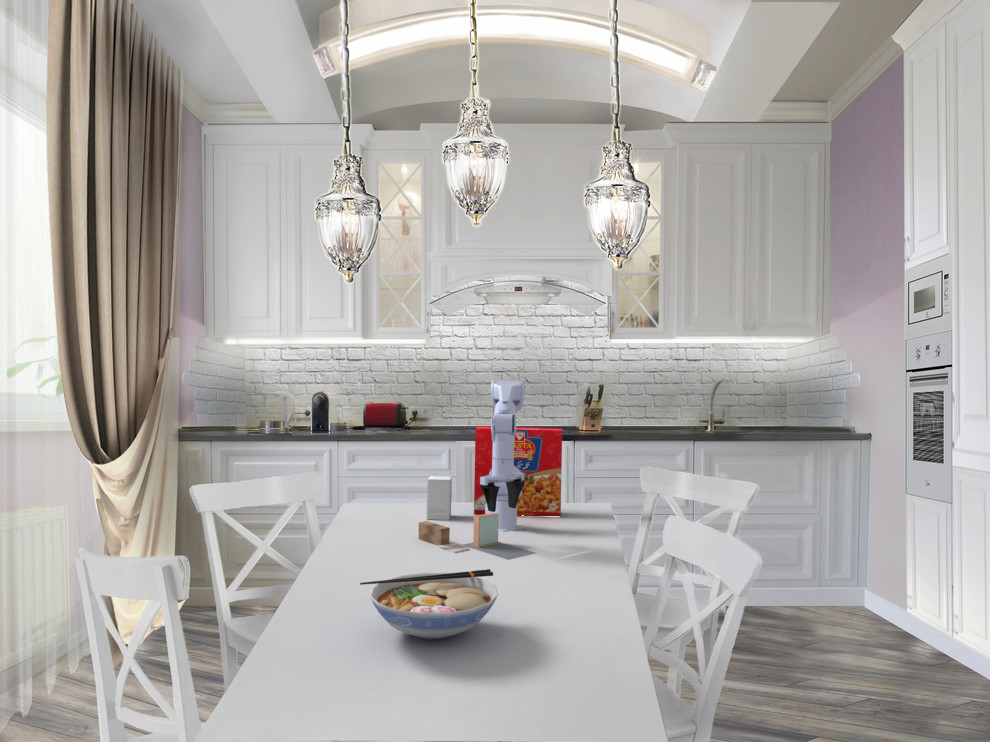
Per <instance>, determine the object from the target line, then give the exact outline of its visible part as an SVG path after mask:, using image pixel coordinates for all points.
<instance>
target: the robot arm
mask: <svg viewBox="0 0 990 742" xmlns="http://www.w3.org/2000/svg"><path fill="white" fill-rule="evenodd" d="M490 386H491V387H490V398H491V405H492V409H494V412H493V413H494V414H493V415H491V419H490V420H491V422H490V427H491V432H492V441H493V456H492V470H491V472H490V475H488V476H484V477H480V488H481V490H482V492H483V494H484V496H485V499H486V506H485V514H488V513H498V514H499V523H498V532H503V533H505V532H509V531H515V530H523V529H524V527H523V526H521V525H518V522H517V521H518V516H517V501H518V498H520V497H521V496H522V489H523V487H524V485H525V482H524V481H522V480H524V473H521V471H520V470H519V469H518V468H516V467H515V466H514V435H515V433H516V428H517V416H516V414H517V412H518V411H521V410H522V409H523V406H524V397H525V395H524V394H525V393H524V392H525V388H524V387H525V382H524V381H523V380H499V379H498V380H496V379H493V380H491V384H490Z"/></svg>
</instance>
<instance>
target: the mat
mask: <svg viewBox="0 0 990 742" xmlns="http://www.w3.org/2000/svg"><path fill="white" fill-rule="evenodd" d="M462 546H464V547H467V548H470V549H473V550H477V551H480V552H483V553H486V554H489V555H492V556H495V557H498V558H501V559H504V560H508V561H509V560H513V559H517V558H521V557H527V556H530V555H534V554H535V555H536V554H537V552H536V551H535V552H534V551H532V550H528V549H525V548H521V547H518V546H515V545H512V544H508V543H505V542H502V541H498V544H494V545H489V546H484V547H480V548H477V547H474V546H473V542H470V543H465V544H462Z"/></svg>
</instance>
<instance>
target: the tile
mask: <svg viewBox="0 0 990 742" xmlns="http://www.w3.org/2000/svg"><path fill="white" fill-rule="evenodd" d="M498 523H499V514H498V513H488V514H482V515H473V542H472V543H473V546H474V547H477V548H480V547H484V546H489V545H494V544H498V542H499V530H498Z"/></svg>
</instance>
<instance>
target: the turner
mask: <svg viewBox="0 0 990 742" xmlns="http://www.w3.org/2000/svg"><path fill="white" fill-rule="evenodd" d="M450 530H451V529H450V527H448V526H445V525H442V524H438V523H434V522H431V521H427V520H426V521H425V520H424V521H419V522H418V538H417V539H418V540H420V541H423V542H426V543H428V544H432V545H434V546H437V548H439V549H442V550H445V551H448V552H450V553H453V554H456V553H461V552H464V551H465V552H466V551H470V549H471V548H470V547H466V546H463V545H462V544H457V543H454V542H451V543H450V537H451V536H450Z"/></svg>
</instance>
